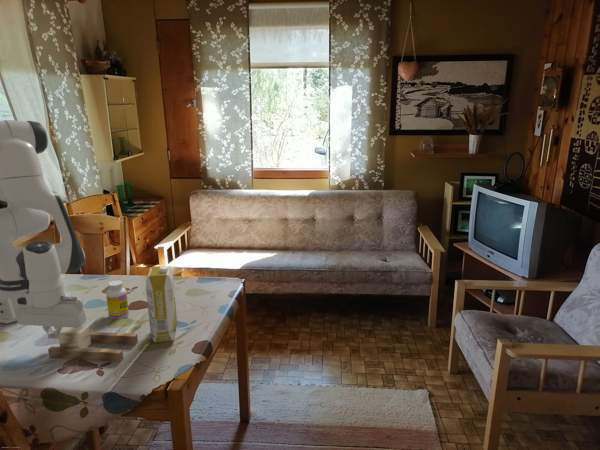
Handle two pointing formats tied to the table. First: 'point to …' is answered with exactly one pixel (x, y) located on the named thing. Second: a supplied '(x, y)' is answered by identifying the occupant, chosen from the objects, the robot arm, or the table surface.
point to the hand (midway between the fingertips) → (54, 337)
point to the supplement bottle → (117, 300)
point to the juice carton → (161, 304)
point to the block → (75, 337)
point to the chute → (96, 353)
